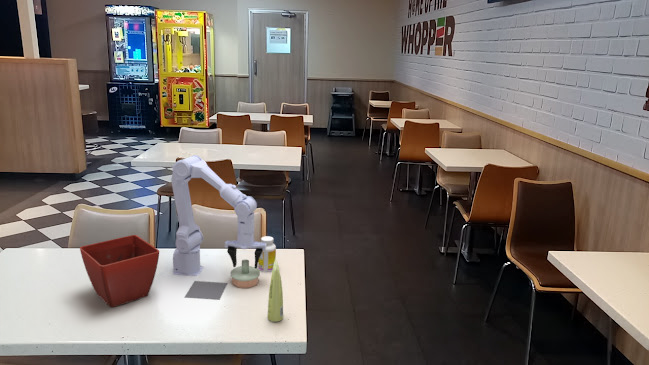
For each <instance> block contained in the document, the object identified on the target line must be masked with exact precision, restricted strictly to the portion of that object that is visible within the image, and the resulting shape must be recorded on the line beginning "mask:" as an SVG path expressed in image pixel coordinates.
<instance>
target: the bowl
mask: <svg viewBox="0 0 649 365" xmlns="http://www.w3.org/2000/svg"><path fill="white" fill-rule="evenodd" d="M259 277H260V276H259ZM259 277H258V278H256V279H254V280H250V281H239V280H235V279H233V278H232V277H231V284H233V286H235V287H237V288H242V289H243V288H245V289H249V288H252V287H256V286H257V285H258V283H259Z"/></svg>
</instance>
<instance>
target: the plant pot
mask: <svg viewBox="0 0 649 365" xmlns="http://www.w3.org/2000/svg"><path fill="white" fill-rule="evenodd" d="M79 252H80V255H81V258H82V262H83V264H84V268H85V271H86V274H87V276H88V278H89V281H90V282H91V286H92V287H93V289H94V292H95V293H96V295H97V296H99V297H100V299H102V301H103V302H104V303H105V304H106V305H107V306H108V307H110V308H114V307H117V306H121V305H123V304H127V303H131V302H134V301H136V300H137V301H138V300H139V299H142V298H144V297H147V296H148V295H149V294H150V292H151V288H152V285H153V283H154V280H155V277H156V272H157V269H158V264H159V256H160V250H159V249H158V248H156V247H154V246H153V245H152V244H151V243H149V242H148V241H146V240H145V239H143V238H141V237H140V236H138V235H137V234H131V235H127V236H123V237H118V238H114V239H108V240H105V241H100V242H95V243H92V244H87V245H86V244H85V245H82V246H80V247H79Z"/></svg>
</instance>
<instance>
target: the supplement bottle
mask: <svg viewBox="0 0 649 365" xmlns="http://www.w3.org/2000/svg"><path fill="white" fill-rule="evenodd" d="M260 242H261V243H266V250H263V251H262V254H261V256H260V258H259V261H258V266H257V269H259V271H260V272H263V273H270V272H271V273H272V270H273V265H274V261H275V257H276V258H277V255H276V254H277V246H276V244H275V243H274V237H272V236H268V235H267V236H265V235H264V236H262V237H261V238H260Z"/></svg>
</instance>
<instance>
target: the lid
mask: <svg viewBox="0 0 649 365" xmlns="http://www.w3.org/2000/svg"><path fill="white" fill-rule="evenodd" d="M260 275H261V271H260V270H259V268H258V267H257V268H256V269H255V266H253V265H251V266H250V260H249V259H242V260H241V266H237V267H233V268H232V270H230V277H231V279H232V278H233V279H235V280H239V281H250V280H254V279H256V278H258V277H260Z"/></svg>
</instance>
